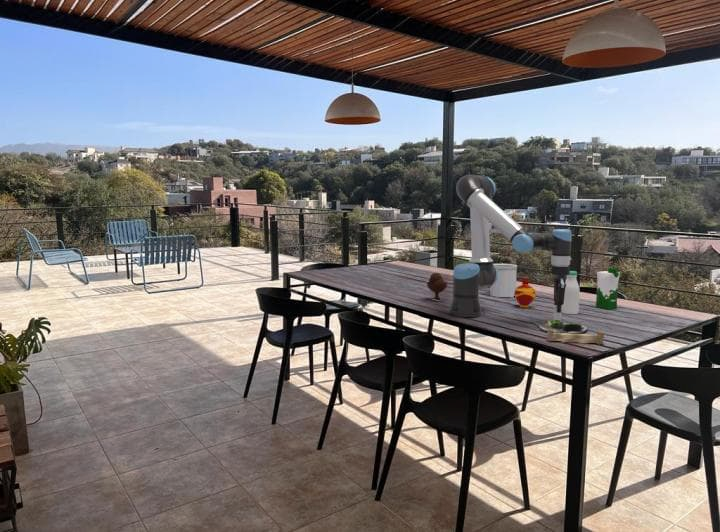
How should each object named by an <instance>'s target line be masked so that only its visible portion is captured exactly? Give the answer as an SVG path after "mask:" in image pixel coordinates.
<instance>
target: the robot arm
mask: <svg viewBox="0 0 720 532" xmlns="http://www.w3.org/2000/svg"><path fill="white" fill-rule="evenodd" d="M496 189H497V188H496V184H495V182H494V181H493V180H492V178H490V177H488V176H486V175H477V174H476V175H475V174H466V175H464V176H462V177H460V178H459V180H457V183H456V187H455V190H456V191H455V192H456V194H457V196H458V198H459V199H460V200H462V202H463V203H465V205H466V206H467V207H468V208H469V212H470V214H469V215H470V236H471V237H470V242H471V243H470V244H471V245H470V247H471V258H470V259H469V260H468V262H467V263H466V262H465V263H460V264H457V265H455V266H454V268H453V272H452V277H453V278H452V279H453V282H452V283H453V284H452V299H451V302H450V305H449V307H448V314H449V315H450V316H452V315H454V316H453V317H456V316H458V318H464V317H473V318H479V316H480V317H481V316H482V313H483V309H482V307H481V303H480V299H479V290H485V289H490V287H491V286H493V285H494V284H495V283H496V281H497V278H498V271H497V269H496V268H495V266H494V264H495V263H494V260H493V259H492V258H491V250H490V248H491V247H490V246H491V245H490V242H491V241H490V224H491V225H492V226H493V227H494V228H495V229H497V230H498V231H499V232H500V233H501V234H502V235H503V236H504V237H505V238H506V239H507V240H508V241H509V242H511V245H512V248H513V249H514V250H515V252H518V253H522V254H523V253H529V252H536V251H545V252H547V251H548V252H551V259H550V261H551V262H550V264H551V266H550V274H551V275H554V276H555V277H554V279H553V302H554V310H553V311H554V312H553V313H554V314H553V318H554V319H555V320H560V321H562V319H563V318H562V315H563V313H562V305H563V304H564V295H565V288H566V284H565V282H566V279H565V276H566V275H569V274H570V271H571V270H570V269H571V267H570V265H571V260H572V257H571V255H572V254H571V253H572V240H573V239H572V230H570V229H567V228H566V229H565V228H564V229H562V228H561V229H560V228H554V229H553V230H552V233H546V232H545V233H544V232H528V231H527V230H526V229H525V228H524V227H522V226H521V225H520V224H519V223H518V222H517V221H515V220H514V219H513V218H512V217H511V216H510V215H509V214H508V213H507V212H505V211H504V210H503V209H502V208H501V207H500V206H499V205H498V204H496V202H494V201H493V200H492V198H494V196H495V193H496ZM554 319H553V320H554Z"/></svg>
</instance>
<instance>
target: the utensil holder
mask: <svg viewBox="0 0 720 532" xmlns="http://www.w3.org/2000/svg"><path fill="white" fill-rule="evenodd" d="M493 264H494V266H495V268H496V269H497V271H498V278H497V281H496V283H495V284H494V285H493V286H491V287H489V290H490V291H489V295H490V296H491V295H492V296H491V297H493V296H497V297H496V298H499V297H511V298H515V297H514V295H515V294H514V293H515V289H516V288H517V268H518V265H517V264H510V263H493Z"/></svg>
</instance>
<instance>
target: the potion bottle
mask: <svg viewBox="0 0 720 532" xmlns="http://www.w3.org/2000/svg"><path fill="white" fill-rule="evenodd" d="M520 278H521V280H520V282H522V284H520V285H517V286H516V289H515V293H514V294H515V295H514V296H515V297H514V298H515V300H516V301H517V303H518V304H519V305H518V307H519V306H520V307H519V308H522V307H523V308H524V309H529V308H530V305H531V303H532V302H533V301H534V300H535V299H536V297H537V294H536V292H537V290H536V289H535V287H533V286H531V285H529V283H530V282H531V280H530V278H531V277H529V276H521V277H520ZM523 308H522V309H523Z"/></svg>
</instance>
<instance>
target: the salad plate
mask: <svg viewBox="0 0 720 532" xmlns="http://www.w3.org/2000/svg"><path fill="white" fill-rule="evenodd" d="M535 325H537V326H538V327H539V329H541V330H542V331H545V332H546V331H547V329H553V333H569V334H583V333H584V334H586V333H587V331H588V330H589V329H588V327H587V326H585V325H582V324H580V323H576V322H569V323H566V322H562V320H555V319H553V320H547V322H546V323H544V324H543V323H541V322H535ZM585 332H586V333H585Z"/></svg>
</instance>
